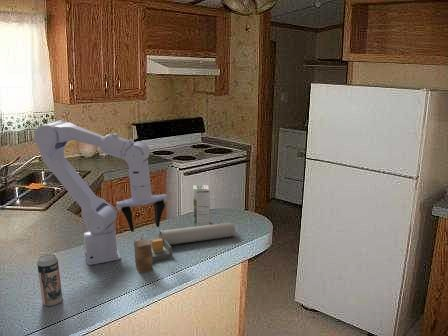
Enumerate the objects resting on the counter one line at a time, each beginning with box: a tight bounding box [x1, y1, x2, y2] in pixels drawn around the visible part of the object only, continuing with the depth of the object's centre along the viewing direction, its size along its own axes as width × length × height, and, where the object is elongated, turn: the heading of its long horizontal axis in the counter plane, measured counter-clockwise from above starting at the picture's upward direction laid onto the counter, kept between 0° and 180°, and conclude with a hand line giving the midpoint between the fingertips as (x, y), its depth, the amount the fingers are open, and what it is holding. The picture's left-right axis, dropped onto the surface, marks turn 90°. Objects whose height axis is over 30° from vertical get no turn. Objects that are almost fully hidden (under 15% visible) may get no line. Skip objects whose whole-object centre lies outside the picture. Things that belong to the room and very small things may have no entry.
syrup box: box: [192, 184, 211, 227], centre depth 152 cm, size 6×6×14 cm
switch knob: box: [152, 238, 163, 251], centre depth 130 cm, size 2×3×3 cm, turn 114°
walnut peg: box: [133, 238, 154, 274], centre depth 121 cm, size 4×4×8 cm
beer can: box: [36, 253, 64, 307], centre depth 105 cm, size 5×5×12 cm
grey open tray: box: [140, 232, 174, 263], centre depth 132 cm, size 12×7×4 cm, turn 24°
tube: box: [159, 221, 236, 246], centre depth 140 cm, size 5×5×25 cm
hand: (144, 228), depth 126 cm, fingers open, 7 cm apart
